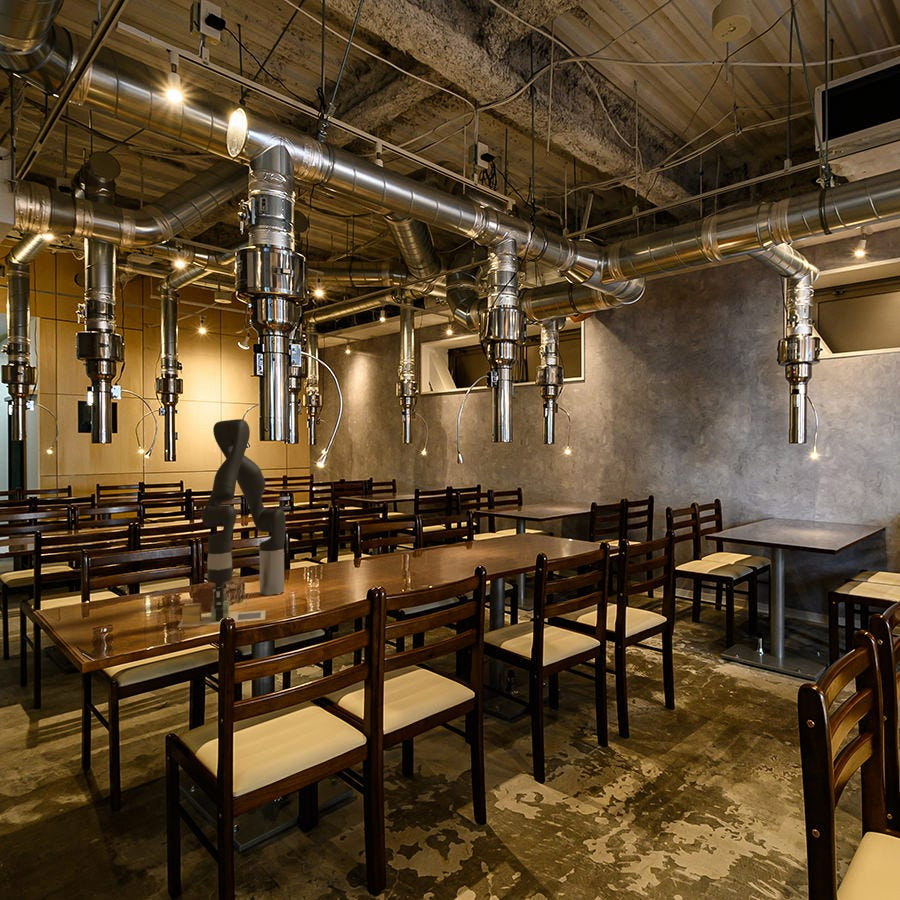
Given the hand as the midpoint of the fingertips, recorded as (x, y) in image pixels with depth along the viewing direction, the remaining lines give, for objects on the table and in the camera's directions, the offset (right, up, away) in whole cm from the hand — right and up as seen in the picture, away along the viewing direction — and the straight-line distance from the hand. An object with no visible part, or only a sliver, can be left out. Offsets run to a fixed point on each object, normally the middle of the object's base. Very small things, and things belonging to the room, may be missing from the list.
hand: (220, 618), depth 189 cm
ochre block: (-8, 0, -2) cm, 9 cm away
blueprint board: (+1, -1, 0) cm, 1 cm away
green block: (0, 0, 0) cm, 0 cm away
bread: (-8, -2, +19) cm, 21 cm away
